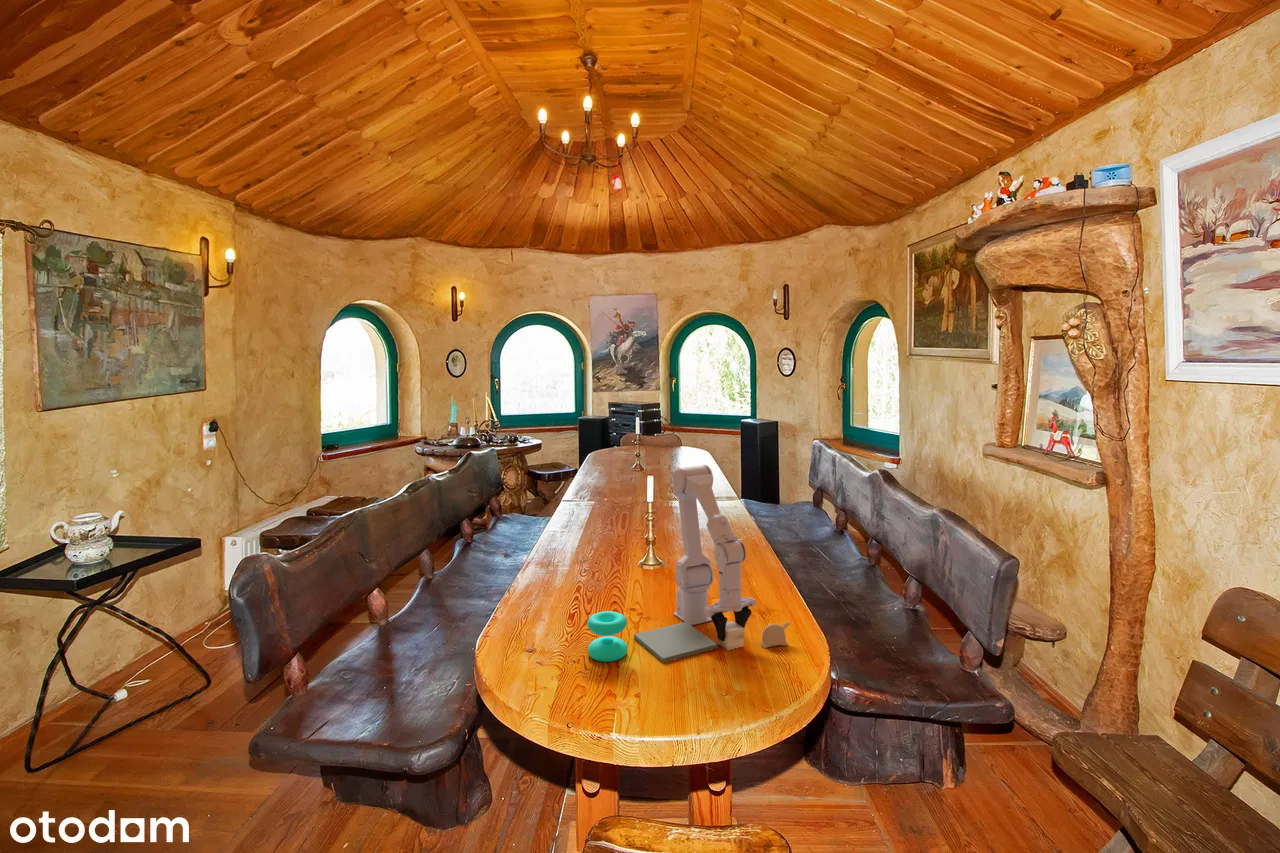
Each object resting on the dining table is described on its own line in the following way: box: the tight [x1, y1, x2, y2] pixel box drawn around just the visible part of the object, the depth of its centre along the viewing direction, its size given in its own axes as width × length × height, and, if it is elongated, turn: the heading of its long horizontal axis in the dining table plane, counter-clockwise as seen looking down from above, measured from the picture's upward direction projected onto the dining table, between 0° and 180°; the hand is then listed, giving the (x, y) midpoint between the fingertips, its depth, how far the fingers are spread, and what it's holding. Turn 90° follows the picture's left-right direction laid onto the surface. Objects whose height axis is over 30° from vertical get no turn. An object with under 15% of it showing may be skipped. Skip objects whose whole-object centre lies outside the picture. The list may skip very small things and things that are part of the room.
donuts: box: [586, 610, 628, 663], centre depth 171 cm, size 10×10×10 cm
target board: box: [633, 621, 719, 664], centre depth 177 cm, size 16×16×1 cm
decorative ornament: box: [760, 621, 791, 649], centre depth 175 cm, size 4×8×5 cm, turn 100°
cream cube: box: [716, 620, 745, 652], centre depth 175 cm, size 5×5×5 cm
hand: (730, 637), depth 175 cm, fingers closed on cream cube, 5 cm apart
